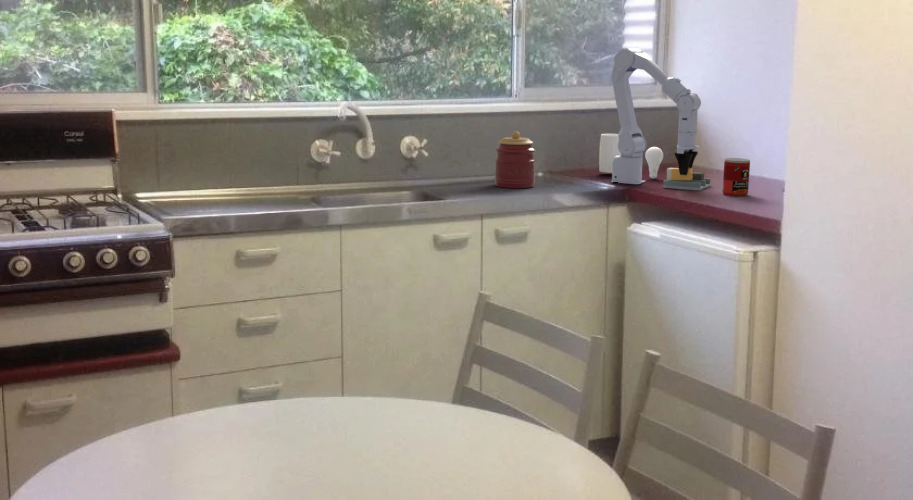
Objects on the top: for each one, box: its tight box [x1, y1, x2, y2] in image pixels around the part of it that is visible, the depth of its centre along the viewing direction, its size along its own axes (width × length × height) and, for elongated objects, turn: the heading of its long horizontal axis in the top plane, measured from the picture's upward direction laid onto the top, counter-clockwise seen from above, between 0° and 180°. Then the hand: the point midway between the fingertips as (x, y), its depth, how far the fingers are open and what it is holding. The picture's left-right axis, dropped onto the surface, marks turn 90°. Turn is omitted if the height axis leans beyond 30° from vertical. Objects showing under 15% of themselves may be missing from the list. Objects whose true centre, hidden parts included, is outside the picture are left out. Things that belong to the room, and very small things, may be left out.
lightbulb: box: [644, 146, 664, 180], centre depth 372 cm, size 6×6×11 cm
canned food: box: [722, 157, 751, 197], centre depth 336 cm, size 8×8×11 cm
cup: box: [598, 133, 621, 174], centre depth 381 cm, size 8×8×14 cm
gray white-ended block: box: [692, 171, 705, 181], centre depth 355 cm, size 8×3×4 cm, turn 62°
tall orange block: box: [666, 167, 694, 180], centre depth 351 cm, size 8×3×4 cm, turn 62°
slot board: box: [662, 177, 712, 191], centre depth 353 cm, size 12×12×2 cm
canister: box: [494, 130, 537, 189], centre depth 348 cm, size 13×13×18 cm
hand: (685, 174), depth 350 cm, fingers closed on tall orange block, 3 cm apart
